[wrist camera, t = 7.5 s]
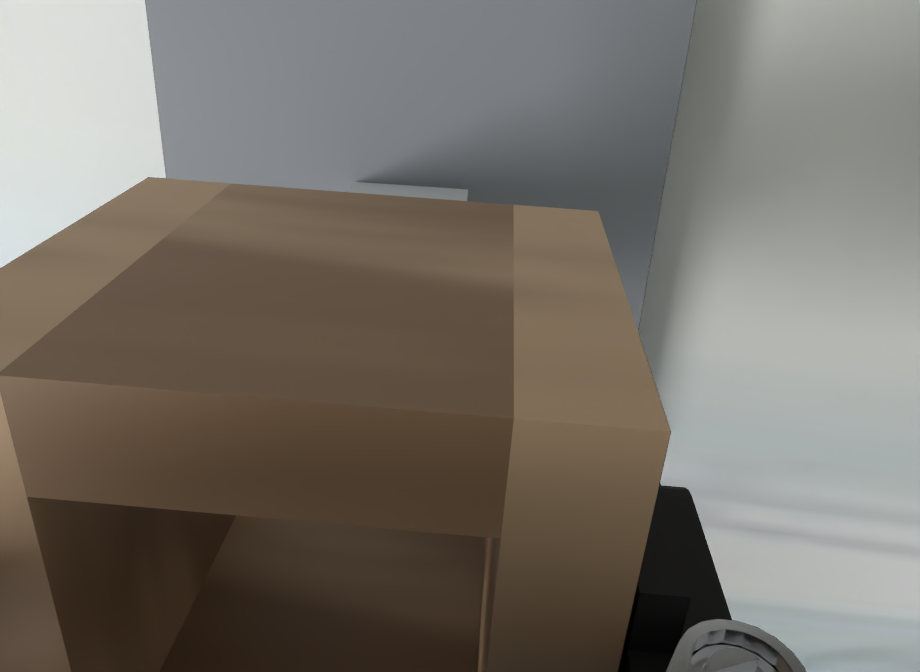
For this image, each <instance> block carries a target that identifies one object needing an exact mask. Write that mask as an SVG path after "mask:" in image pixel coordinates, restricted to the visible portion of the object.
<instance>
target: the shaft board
mask: <svg viewBox="0 0 920 672" xmlns="http://www.w3.org/2000/svg"><path fill="white" fill-rule="evenodd" d="M696 2H697V0H145V4H146V12H147V21H148V29H149V38H150V46H151V54H152V63H153V71H154V80H155V88H156V97H157V105H158V113H159V122H160V130H161V139H162V147H163V155H164V164H165V172H166V179H179V180H192V181H206V182H219V183H232V184H245V185H259V186H272V187H285V188H299V189H312V190H325V191H338V192H352V193H365V194H378V195H392V196H405V197H418V198H431V199H445V200H458V201H471V202H485V203H498V204H511V205H524V206H538V207H551V208H564V209H578V210H591V211H598V212H599V215H600V218H601V221H602V224H603V227H604V230H605V233H606V236H607V239H608V242H609V245H610V248H611V251H612V254H613V257H614V260H615V263H616V266H617V269H618V272H619V275H620V278H621V282H622V285H623V288H624V291H625V294H626V297H627V300H628V303H629V306H630V309H631V312H632V315H633V318H634V321H635V324H636V327H637V330H638V329H639V323H640V318H641V312H642V306H643V301H644V295H645V290H646V284H647V278H648V273H649V267H650V261H651V256H652V250H653V244H654V239H655V233H656V227H657V222H658V216H659V210H660V205H661V199H662V194H663V188H664V182H665V177H666V171H667V165H668V160H669V154H670V148H671V143H672V137H673V131H674V126H675V120H676V115H677V109H678V103H679V98H680V92H681V86H682V81H683V75H684V69H685V64H686V58H687V52H688V47H689V41H690V35H691V30H692V24H693V19H694V13H695V7H696Z"/></svg>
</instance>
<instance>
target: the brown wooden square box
mask: <svg viewBox="0 0 920 672" xmlns="http://www.w3.org/2000/svg"><path fill="white" fill-rule="evenodd" d="M670 434H671V430H670V427H669V424H668V421H667V418H666V415H665V412H664V409H663V406H662V403H661V400H660V397H659V394H658V391H657V388H656V385H655V382H654V379H653V375H652V372H651V369H650V366H649V363H648V360H647V357H646V354H645V351H644V348H643V345H642V342H641V339H640V336H639V333H638V330H637V327H636V324H635V321H634V318H633V315H632V312H631V309H630V306H629V303H628V300H627V297H626V294H625V291H624V288H623V285H622V282H621V278H620V275H619V272H618V269H617V266H616V263H615V260H614V257H613V254H612V251H611V248H610V245H609V242H608V239H607V236H606V233H605V230H604V227H603V224H602V221H601V218H600V215H599V212H598V211H591V210H578V209H564V208H551V207H538V206H524V205H511V204H498V203H485V202H471V201H458V200H445V199H431V198H418V197H405V196H392V195H378V194H365V193H352V192H338V191H325V190H312V189H299V188H285V187H272V186H259V185H245V184H232V183H219V182H206V181H192V180H179V179H166V178H152V177H148V178H146V179H145V180H143V181H142V182H140V183H138V184H137V185H135V186H133V187H132V188H130V189H129V190H127V191H125V192H124V193H122V194H120V195H119V196H117V197H116V198H114V199H112V200H111V201H109V202H107V203H106V204H104V205H103V206H101V207H99V208H98V209H96V210H94V211H93V212H91V213H90V214H88V215H86V216H85V217H83V218H81V219H80V220H78V221H76V222H75V223H73V224H72V225H70V226H68V227H67V228H65V229H63V230H62V231H60V232H59V233H57V234H55V235H54V236H52V237H50V238H49V239H47V240H46V241H44V242H42V243H41V244H39V245H37V246H36V247H34V248H33V249H31V250H29V251H28V252H26V253H24V254H23V255H21V256H20V257H18V258H16V259H15V260H13V261H11V262H10V263H8V264H7V265H5V266H3V267H2V268H0V672H618V668H619V664H620V659H621V655H622V650H623V646H624V641H625V637H626V632H627V628H628V623H629V619H630V614H631V610H632V605H633V601H634V596H635V592H636V587H637V583H638V578H639V574H640V569H641V565H642V560H643V556H644V551H645V547H646V542H647V538H648V533H649V529H650V524H651V520H652V515H653V511H654V506H655V502H656V497H657V493H658V488H659V484H660V479H661V475H662V470H663V466H664V461H665V457H666V452H667V448H668V443H669V439H670Z"/></svg>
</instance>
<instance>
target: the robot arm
mask: <svg viewBox="0 0 920 672" xmlns="http://www.w3.org/2000/svg"><path fill="white" fill-rule="evenodd" d="M618 672H806V670H805V668H804V666H803V665H802V664H801V662H800V661H799V660H798V658H797V657H796V656H795V654H794V653H793V652H792V651H791V650H790V649H789V648H787V647H786V646H785V645H784V644H783V643H782V642H780V641H779V640H778V639H777V638H776V637H774V636H772V635H770V634H768V633H766V632H765V631H763V630H761V629H759V628H757V627H755V626H752V625H749V624H745V623H742V622H739V621H734V620H732V619H731V616H730V612H729V609H728V606H727V603H726V600H725V597H724V594H723V591H722V588H721V585H720V582H719V579H718V576H717V572H716V569H715V566H714V563H713V560H712V557H711V554H710V551H709V548H708V545H707V542H706V539H705V536H704V532H703V529H702V526H701V523H700V520H699V517H698V514H697V511H696V508H695V505H694V502H693V499H692V496H691V494H690V492H689V490H688V489H686V488H683V487H671V486H661V484H659V488H658V493H657V497H656V502H655V506H654V511H653V515H652V520H651V524H650V529H649V533H648V538H647V542H646V547H645V551H644V556H643V560H642V565H641V569H640V574H639V578H638V583H637V587H636V592H635V596H634V601H633V605H632V610H631V614H630V619H629V623H628V628H627V632H626V637H625V641H624V646H623V650H622V655H621V659H620V664H619V668H618Z"/></svg>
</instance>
